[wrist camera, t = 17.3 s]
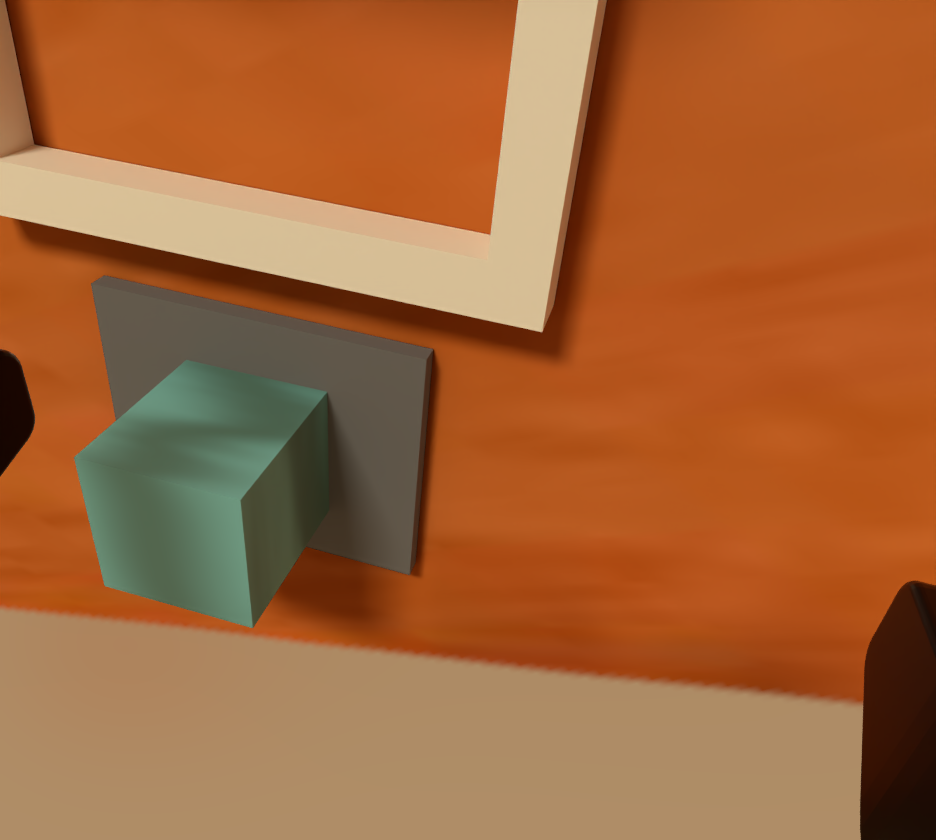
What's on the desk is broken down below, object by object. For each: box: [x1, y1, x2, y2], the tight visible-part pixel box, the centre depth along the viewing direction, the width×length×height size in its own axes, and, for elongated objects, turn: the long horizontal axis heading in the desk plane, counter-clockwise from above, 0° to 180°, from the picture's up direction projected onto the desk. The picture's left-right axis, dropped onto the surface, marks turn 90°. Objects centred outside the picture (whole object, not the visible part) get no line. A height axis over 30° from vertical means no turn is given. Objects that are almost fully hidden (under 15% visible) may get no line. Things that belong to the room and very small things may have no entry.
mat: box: [91, 275, 433, 575], centre depth 25 cm, size 10×8×1 cm
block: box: [74, 360, 329, 628], centre depth 23 cm, size 4×4×5 cm
